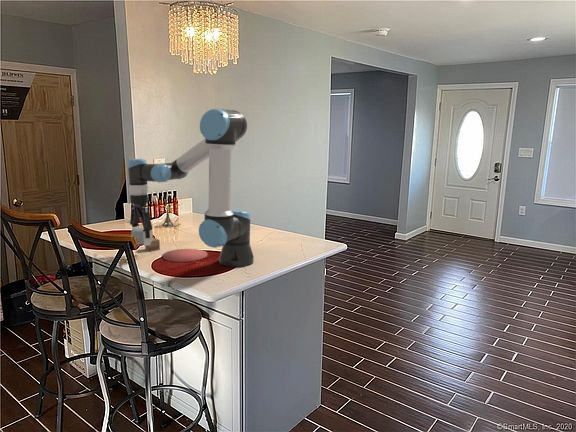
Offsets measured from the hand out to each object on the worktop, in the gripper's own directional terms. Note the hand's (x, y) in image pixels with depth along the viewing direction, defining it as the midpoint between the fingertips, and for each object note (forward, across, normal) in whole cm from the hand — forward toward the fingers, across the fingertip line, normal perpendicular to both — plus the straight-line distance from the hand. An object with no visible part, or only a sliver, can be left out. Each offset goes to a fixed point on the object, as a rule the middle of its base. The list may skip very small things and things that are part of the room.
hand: (141, 243), depth 196 cm
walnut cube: (+6, +9, -9) cm, 14 cm away
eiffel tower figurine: (+6, +54, -39) cm, 67 cm away
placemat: (+7, -10, -16) cm, 20 cm away
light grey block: (+1, +1, -1) cm, 1 cm away
